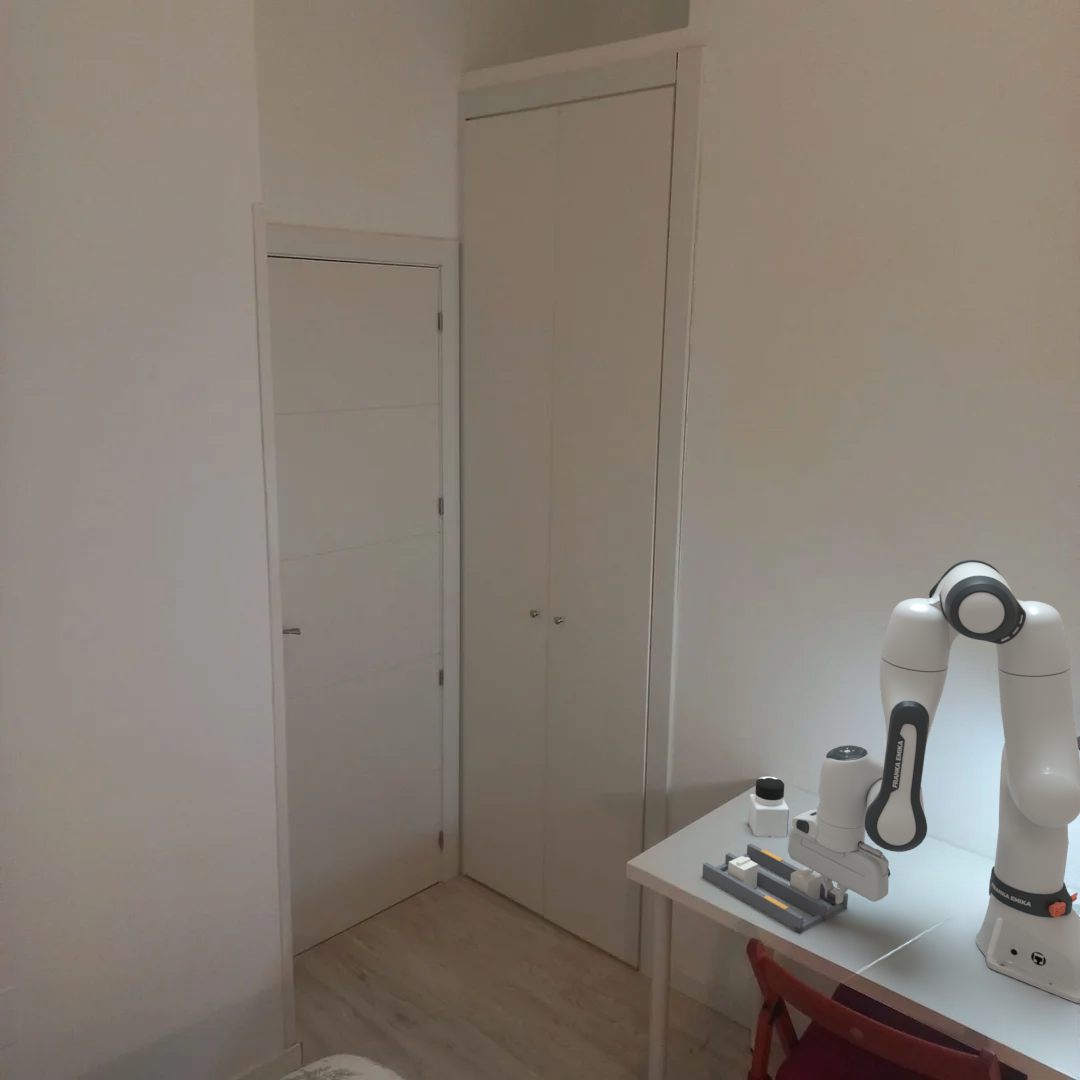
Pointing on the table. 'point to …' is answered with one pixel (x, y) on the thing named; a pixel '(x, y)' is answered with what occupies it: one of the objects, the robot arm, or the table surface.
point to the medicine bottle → (768, 808)
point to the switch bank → (774, 890)
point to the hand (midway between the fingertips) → (833, 899)
